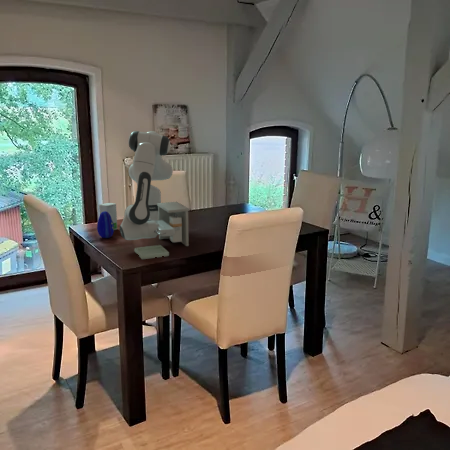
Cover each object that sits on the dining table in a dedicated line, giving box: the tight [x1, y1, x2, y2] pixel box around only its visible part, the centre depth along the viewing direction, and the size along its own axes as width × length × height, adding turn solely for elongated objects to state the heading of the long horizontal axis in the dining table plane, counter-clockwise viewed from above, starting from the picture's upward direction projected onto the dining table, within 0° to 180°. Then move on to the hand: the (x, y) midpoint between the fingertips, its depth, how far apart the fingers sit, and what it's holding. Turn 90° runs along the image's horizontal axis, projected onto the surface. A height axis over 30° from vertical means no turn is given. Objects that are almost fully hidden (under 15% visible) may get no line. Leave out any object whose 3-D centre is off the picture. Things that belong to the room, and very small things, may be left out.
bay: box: [157, 201, 190, 247], centre depth 262 cm, size 11×20×20 cm, turn 25°
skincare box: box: [98, 202, 118, 231], centre depth 287 cm, size 8×7×16 cm
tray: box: [134, 244, 170, 260], centre depth 244 cm, size 14×14×2 cm
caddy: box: [169, 213, 182, 243], centre depth 258 cm, size 5×5×14 cm
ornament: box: [96, 211, 115, 239], centre depth 271 cm, size 11×9×15 cm
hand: (177, 226), depth 258 cm, fingers closed on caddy, 5 cm apart
